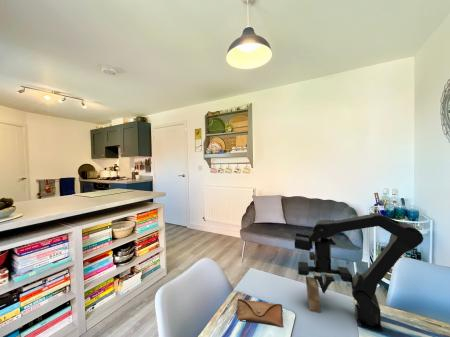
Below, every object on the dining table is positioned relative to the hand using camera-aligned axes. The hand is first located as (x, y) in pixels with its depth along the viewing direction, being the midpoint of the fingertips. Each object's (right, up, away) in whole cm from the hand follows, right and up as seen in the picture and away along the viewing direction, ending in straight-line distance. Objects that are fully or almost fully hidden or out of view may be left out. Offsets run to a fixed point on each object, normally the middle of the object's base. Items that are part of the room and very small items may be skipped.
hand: (323, 292), depth 75 cm
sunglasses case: (-26, -8, -3) cm, 27 cm away
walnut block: (-3, -6, +1) cm, 7 cm away
